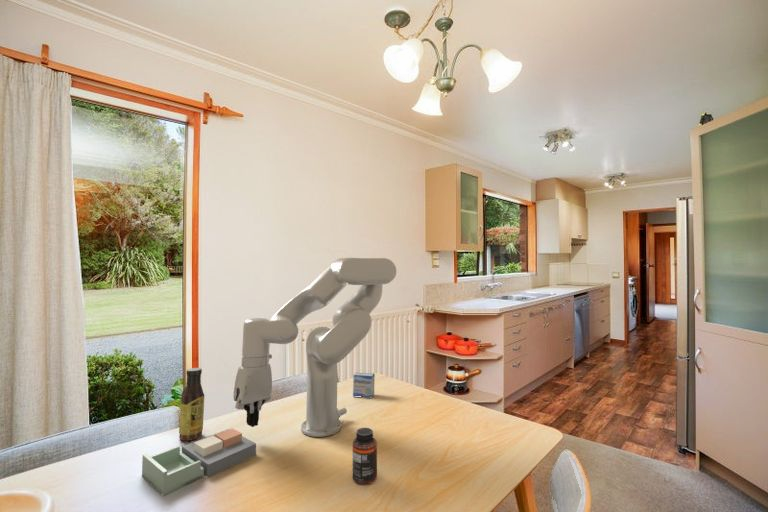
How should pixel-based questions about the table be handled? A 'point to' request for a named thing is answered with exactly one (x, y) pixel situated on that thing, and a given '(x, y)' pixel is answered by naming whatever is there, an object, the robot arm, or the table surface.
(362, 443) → the supplement bottle
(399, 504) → the table surface
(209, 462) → the slate board
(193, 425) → the sauce bottle
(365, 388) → the medicine box
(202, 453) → the cream tile
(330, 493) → the table surface
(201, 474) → the bin
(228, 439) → the terracotta tile
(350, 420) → the table surface
